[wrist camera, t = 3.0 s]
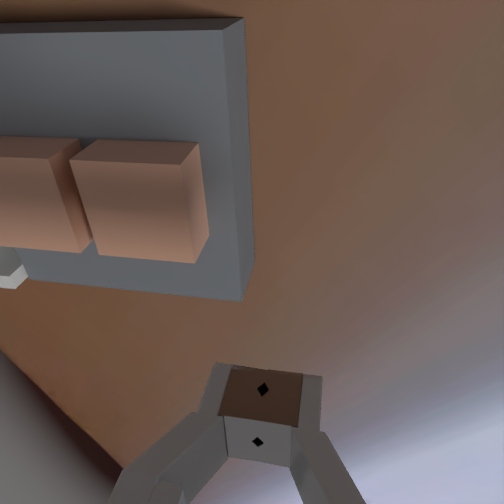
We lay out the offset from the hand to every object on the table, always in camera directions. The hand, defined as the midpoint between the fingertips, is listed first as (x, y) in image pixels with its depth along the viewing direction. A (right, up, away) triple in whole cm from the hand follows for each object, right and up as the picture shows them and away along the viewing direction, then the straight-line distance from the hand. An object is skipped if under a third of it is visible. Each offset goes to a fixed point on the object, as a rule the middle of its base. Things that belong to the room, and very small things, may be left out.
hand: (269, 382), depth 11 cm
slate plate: (-7, +9, +13) cm, 17 cm away
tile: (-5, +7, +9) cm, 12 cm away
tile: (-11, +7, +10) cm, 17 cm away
